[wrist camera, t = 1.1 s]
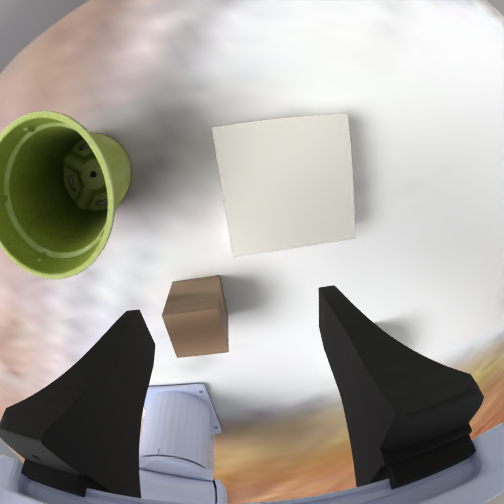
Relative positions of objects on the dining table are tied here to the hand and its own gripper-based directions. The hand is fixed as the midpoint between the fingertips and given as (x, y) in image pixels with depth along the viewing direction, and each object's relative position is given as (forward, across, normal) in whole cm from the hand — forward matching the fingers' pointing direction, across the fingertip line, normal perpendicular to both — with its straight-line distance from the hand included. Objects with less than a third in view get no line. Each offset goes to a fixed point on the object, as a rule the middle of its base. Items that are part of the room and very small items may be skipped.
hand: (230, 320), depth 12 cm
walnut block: (+12, +4, +7) cm, 14 cm away
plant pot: (+13, +10, -5) cm, 17 cm away
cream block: (+13, -4, -1) cm, 14 cm away
